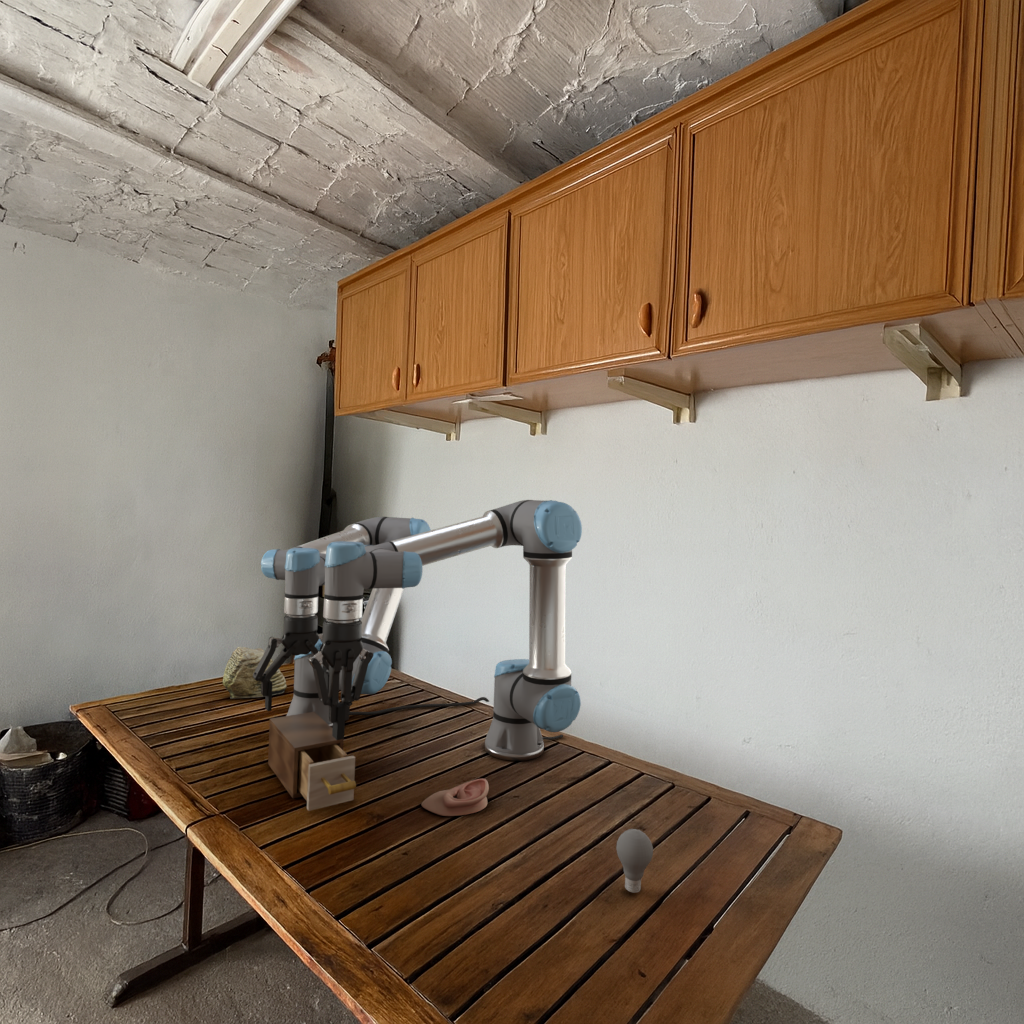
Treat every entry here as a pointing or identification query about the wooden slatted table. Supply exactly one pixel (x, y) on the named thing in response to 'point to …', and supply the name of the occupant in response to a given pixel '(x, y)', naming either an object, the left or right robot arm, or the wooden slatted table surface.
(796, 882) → the wooden slatted table surface
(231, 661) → the fossil
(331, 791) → the drawer
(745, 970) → the wooden slatted table surface
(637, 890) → the light bulb
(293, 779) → the cabinet
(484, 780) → the anatomical model
